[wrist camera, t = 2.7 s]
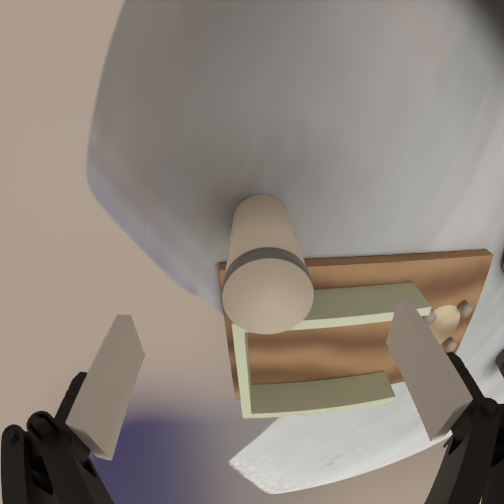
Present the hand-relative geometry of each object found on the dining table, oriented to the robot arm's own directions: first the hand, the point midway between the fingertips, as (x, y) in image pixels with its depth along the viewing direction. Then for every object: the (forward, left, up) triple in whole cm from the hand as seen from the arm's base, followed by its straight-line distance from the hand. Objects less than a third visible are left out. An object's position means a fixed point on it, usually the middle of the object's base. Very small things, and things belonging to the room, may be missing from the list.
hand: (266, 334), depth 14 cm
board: (+14, +12, -15) cm, 23 cm away
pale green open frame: (+14, +7, -13) cm, 20 cm away
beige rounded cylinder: (0, 0, -15) cm, 15 cm away
